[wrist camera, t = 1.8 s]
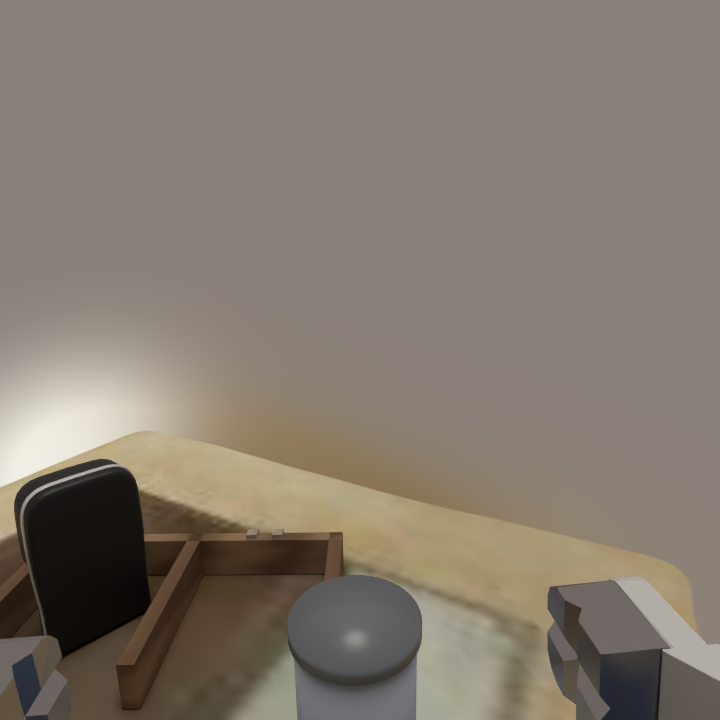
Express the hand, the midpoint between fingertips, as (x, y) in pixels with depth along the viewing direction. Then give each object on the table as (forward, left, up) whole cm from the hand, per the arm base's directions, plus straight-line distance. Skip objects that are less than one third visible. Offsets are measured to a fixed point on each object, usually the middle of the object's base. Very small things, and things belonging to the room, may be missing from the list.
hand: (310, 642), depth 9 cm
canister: (0, +11, -20) cm, 22 cm away
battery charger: (-18, +24, -20) cm, 36 cm away
